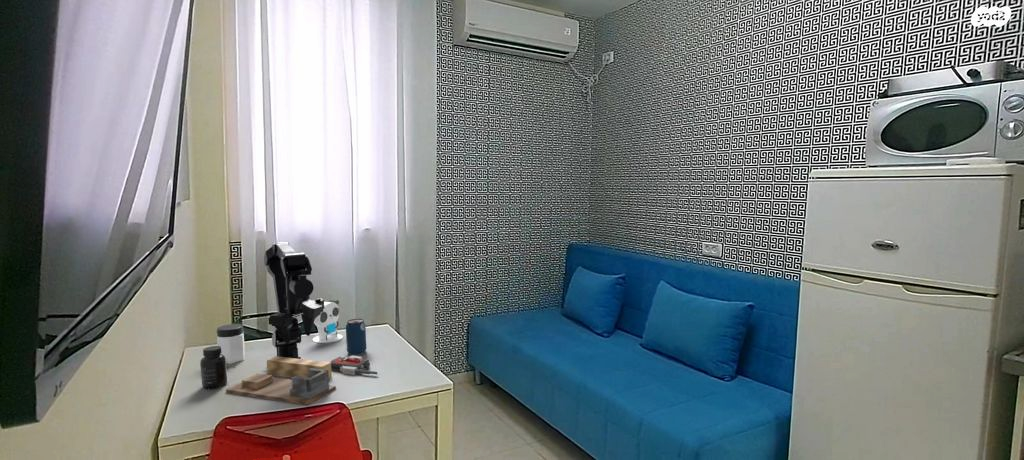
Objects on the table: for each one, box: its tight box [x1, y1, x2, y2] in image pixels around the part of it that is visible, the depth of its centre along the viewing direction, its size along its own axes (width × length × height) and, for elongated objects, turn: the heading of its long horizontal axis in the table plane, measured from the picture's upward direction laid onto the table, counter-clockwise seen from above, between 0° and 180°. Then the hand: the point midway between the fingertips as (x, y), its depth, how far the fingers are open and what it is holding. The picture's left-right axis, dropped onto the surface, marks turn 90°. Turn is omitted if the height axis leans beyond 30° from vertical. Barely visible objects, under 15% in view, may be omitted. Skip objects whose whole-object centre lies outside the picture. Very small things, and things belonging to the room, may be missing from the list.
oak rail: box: [266, 355, 333, 379], centre depth 166 cm, size 22×4×5 cm, turn 72°
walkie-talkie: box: [330, 355, 379, 376], centre depth 171 cm, size 9×4×20 cm
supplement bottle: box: [199, 345, 228, 390], centre depth 158 cm, size 7×7×12 cm
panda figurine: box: [312, 299, 343, 344], centre depth 206 cm, size 12×11×15 cm
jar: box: [216, 323, 246, 365], centre depth 182 cm, size 9×8×12 cm
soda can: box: [345, 318, 367, 356], centre depth 188 cm, size 7×7×12 cm
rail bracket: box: [225, 368, 337, 406], centre depth 154 cm, size 30×12×6 cm, turn 71°
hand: (298, 339), depth 166 cm, fingers open, 9 cm apart
